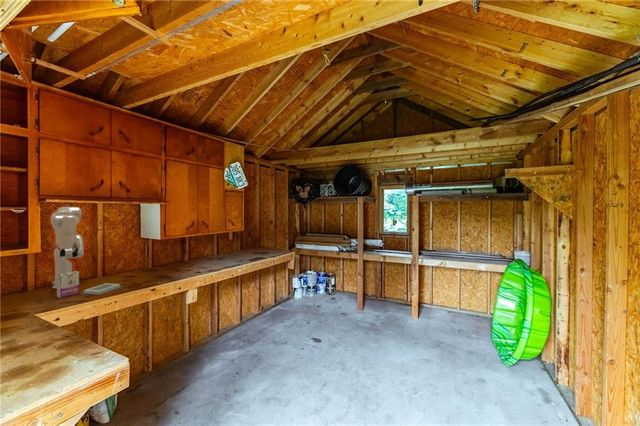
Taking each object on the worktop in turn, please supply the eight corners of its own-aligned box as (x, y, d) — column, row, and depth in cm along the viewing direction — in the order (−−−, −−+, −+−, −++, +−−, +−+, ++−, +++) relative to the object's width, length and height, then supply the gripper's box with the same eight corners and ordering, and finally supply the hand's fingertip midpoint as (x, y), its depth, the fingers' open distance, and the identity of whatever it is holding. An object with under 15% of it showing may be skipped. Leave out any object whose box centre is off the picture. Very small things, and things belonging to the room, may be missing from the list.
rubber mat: (80, 294, 191) (80, 293, 191) (104, 286, 211) (104, 285, 211) (100, 295, 190) (100, 294, 190) (123, 287, 210) (123, 286, 210)
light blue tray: (83, 293, 192) (83, 290, 192) (105, 285, 210) (106, 283, 210) (98, 293, 191) (98, 291, 191) (119, 286, 209) (119, 284, 209)
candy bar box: (75, 292, 194) (75, 271, 194) (79, 293, 192) (79, 271, 192) (56, 297, 183) (56, 274, 183) (60, 298, 182) (60, 275, 181)
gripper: (52, 233, 184) (52, 257, 184) (74, 233, 183) (74, 258, 183) (63, 232, 192) (63, 255, 192) (85, 232, 190) (84, 256, 190)
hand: (68, 256), depth 187 cm, fingers open, 9 cm apart
